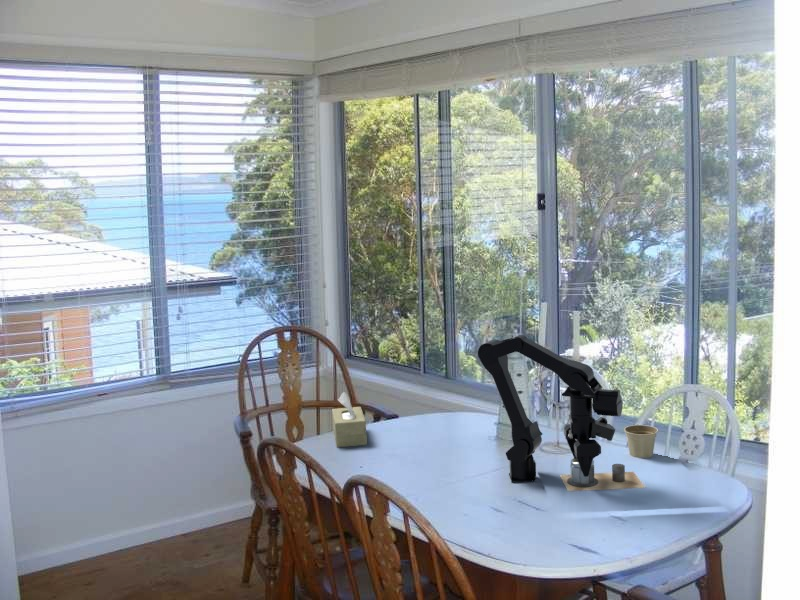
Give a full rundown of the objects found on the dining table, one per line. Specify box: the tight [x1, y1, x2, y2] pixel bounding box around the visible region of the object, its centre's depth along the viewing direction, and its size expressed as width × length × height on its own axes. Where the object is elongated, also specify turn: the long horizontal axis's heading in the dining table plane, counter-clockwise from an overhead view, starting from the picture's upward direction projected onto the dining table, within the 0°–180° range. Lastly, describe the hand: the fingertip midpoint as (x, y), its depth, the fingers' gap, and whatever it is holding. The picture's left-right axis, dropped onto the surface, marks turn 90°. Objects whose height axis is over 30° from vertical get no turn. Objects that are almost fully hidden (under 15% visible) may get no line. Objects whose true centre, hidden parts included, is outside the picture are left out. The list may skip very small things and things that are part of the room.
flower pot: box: [623, 424, 659, 459], centre depth 240 cm, size 9×9×9 cm
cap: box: [569, 457, 595, 485], centre depth 220 cm, size 6×6×6 cm
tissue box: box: [331, 391, 368, 448], centre depth 274 cm, size 19×10×16 cm, turn 8°
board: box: [559, 463, 646, 492], centre depth 220 cm, size 20×12×5 cm, turn 89°
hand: (582, 470), depth 220 cm, fingers open, 9 cm apart
